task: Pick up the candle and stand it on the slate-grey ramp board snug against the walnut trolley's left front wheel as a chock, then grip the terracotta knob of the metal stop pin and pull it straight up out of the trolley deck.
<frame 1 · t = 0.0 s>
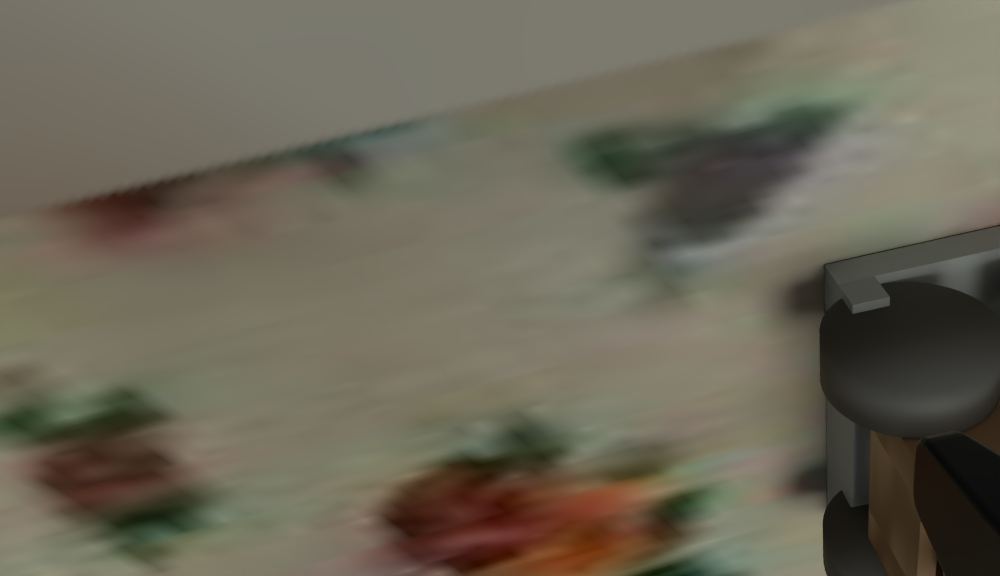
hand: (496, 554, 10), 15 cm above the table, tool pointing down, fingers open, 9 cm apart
trolley: (936, 370, 29), resting on ramp board
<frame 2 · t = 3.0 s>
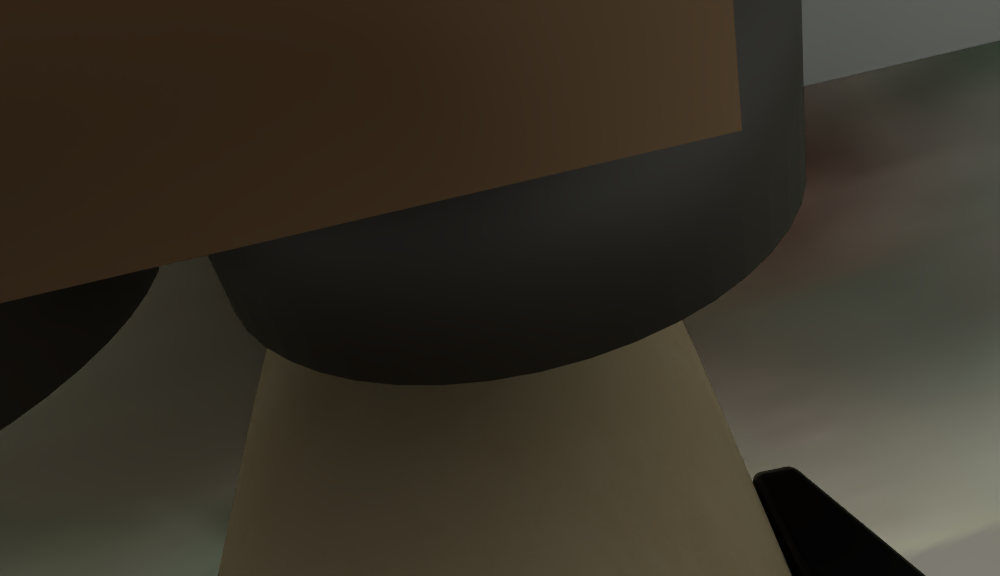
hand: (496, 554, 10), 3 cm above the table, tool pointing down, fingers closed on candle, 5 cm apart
candle: (476, 363, 12), on the table, touching gripper
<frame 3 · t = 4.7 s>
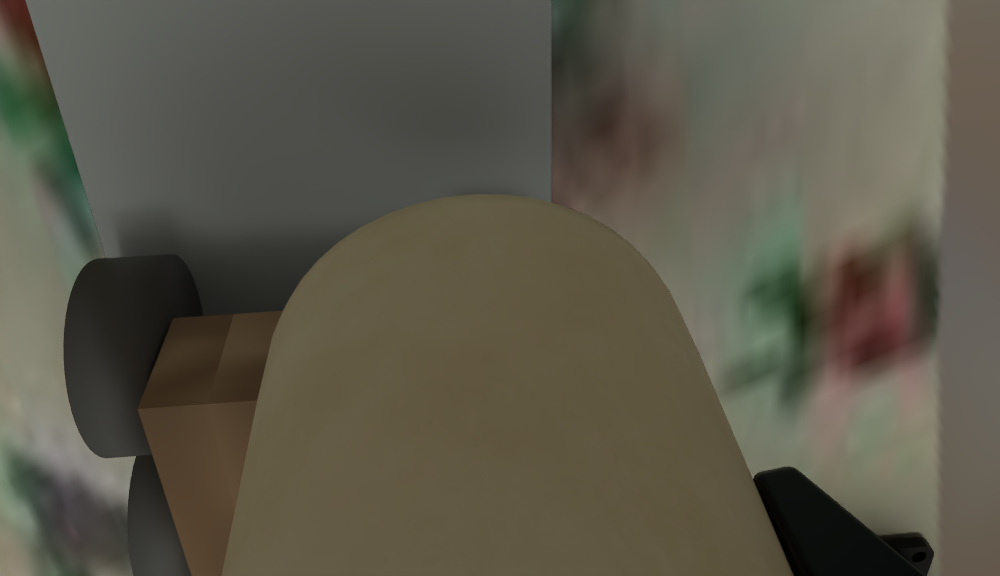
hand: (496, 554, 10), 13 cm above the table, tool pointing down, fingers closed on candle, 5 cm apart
candle: (477, 359, 12), point 10 cm above the table, touching gripper
ramp board: (324, 159, 22), on the table
trolley: (343, 346, 25), resting on ramp board
when the fingers open (5 cm above the table, at t = 6.8 s): candle stays where it is, resting on ramp board.
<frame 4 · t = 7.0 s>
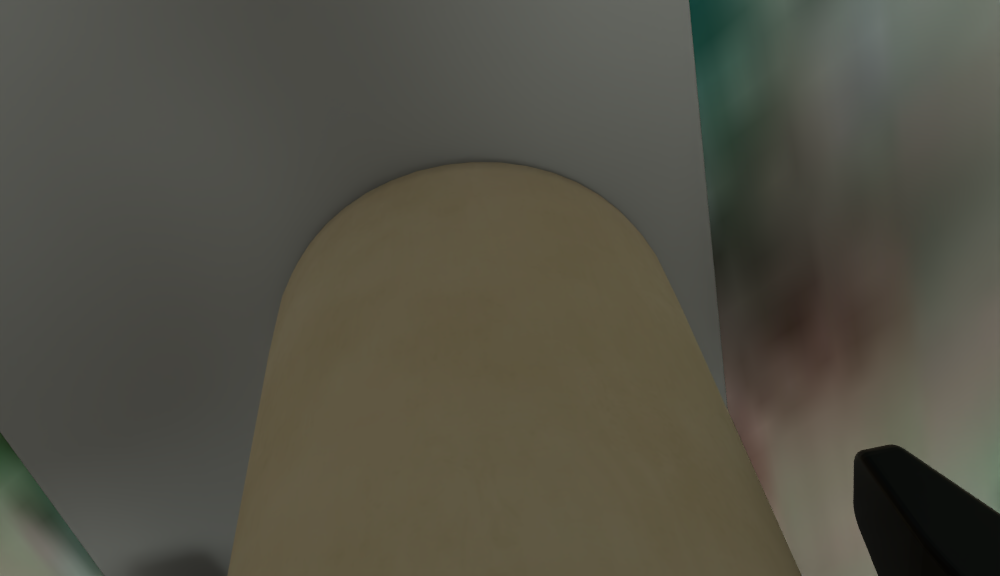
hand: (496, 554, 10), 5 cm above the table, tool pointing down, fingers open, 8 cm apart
candle: (475, 323, 13), point 1 cm above the table, touching ramp board
ramp board: (399, 432, 15), on the table
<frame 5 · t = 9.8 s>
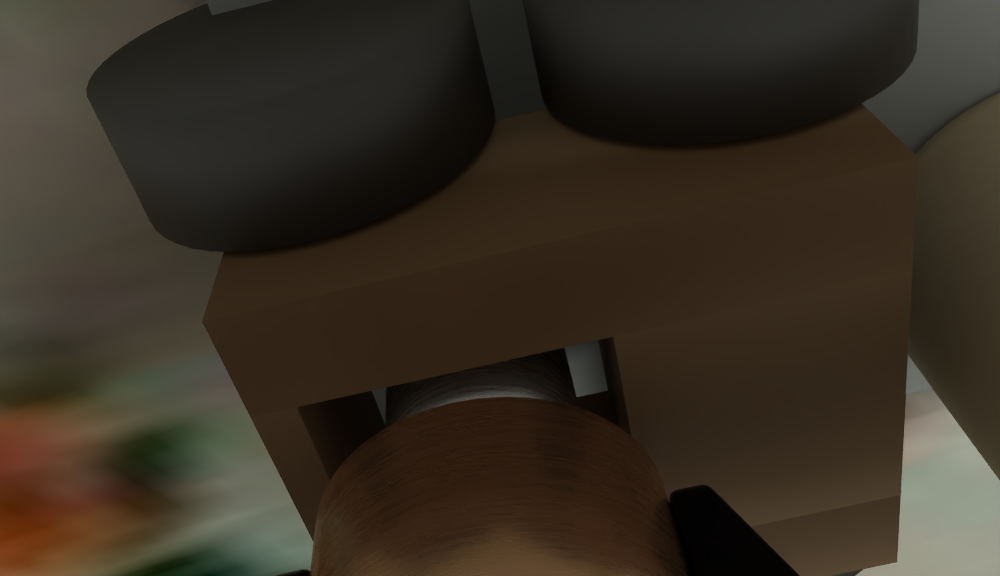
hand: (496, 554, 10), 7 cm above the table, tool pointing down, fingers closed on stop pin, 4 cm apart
ramp board: (855, 135, 15), on the table
stop pin: (490, 496, 10), point 6 cm above the table, slide at 0.5 cm, touching gripper, ramp board
trolley: (535, 196, 16), resting on ramp board
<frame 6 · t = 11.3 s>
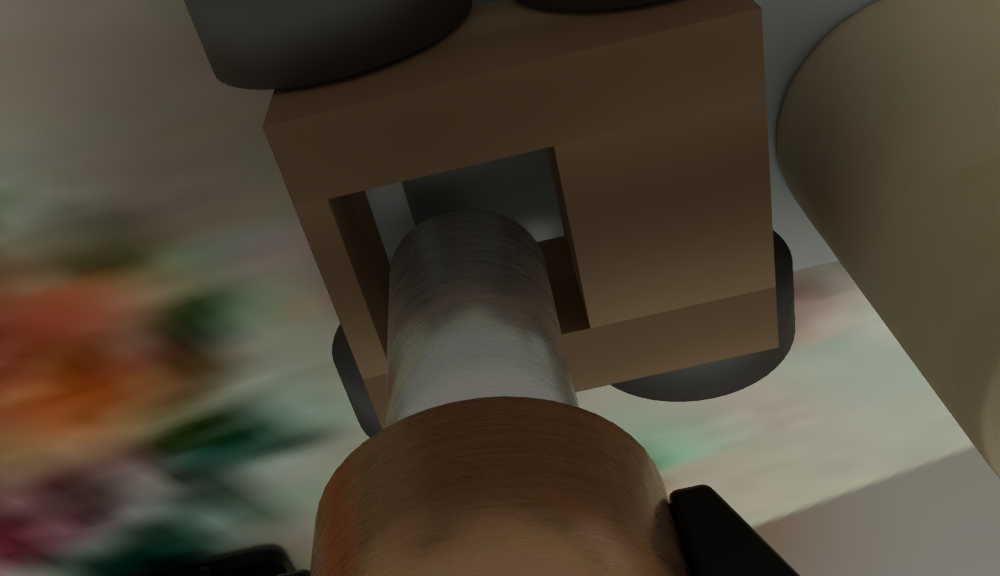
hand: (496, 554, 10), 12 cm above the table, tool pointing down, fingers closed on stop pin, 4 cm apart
candle: (896, 110, 19), point 1 cm above the table, touching ramp board
ramp board: (767, 44, 19), on the table
stop pin: (490, 495, 10), point 11 cm above the table, slide at 5.1 cm, touching gripper
trolley: (510, 93, 19), resting on ramp board
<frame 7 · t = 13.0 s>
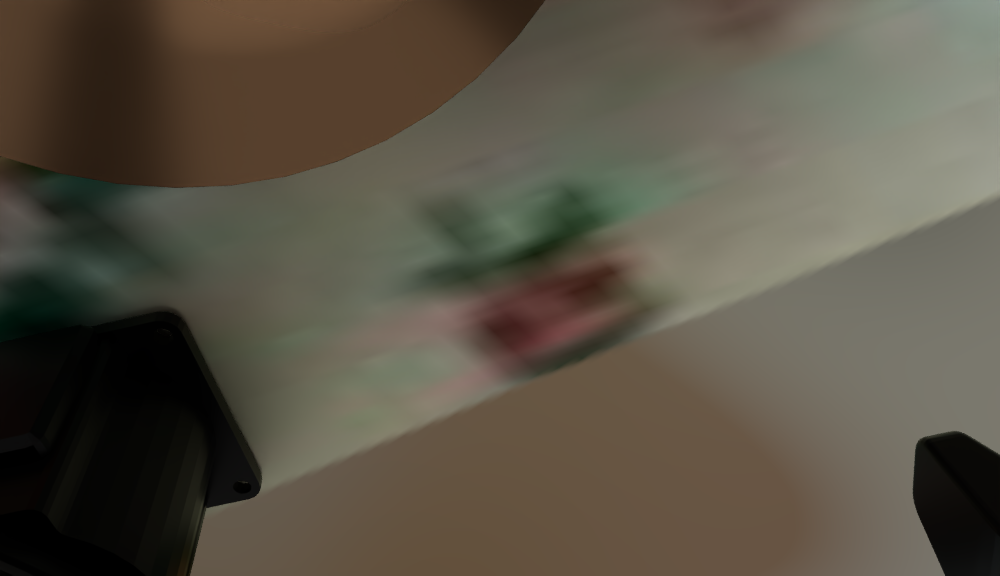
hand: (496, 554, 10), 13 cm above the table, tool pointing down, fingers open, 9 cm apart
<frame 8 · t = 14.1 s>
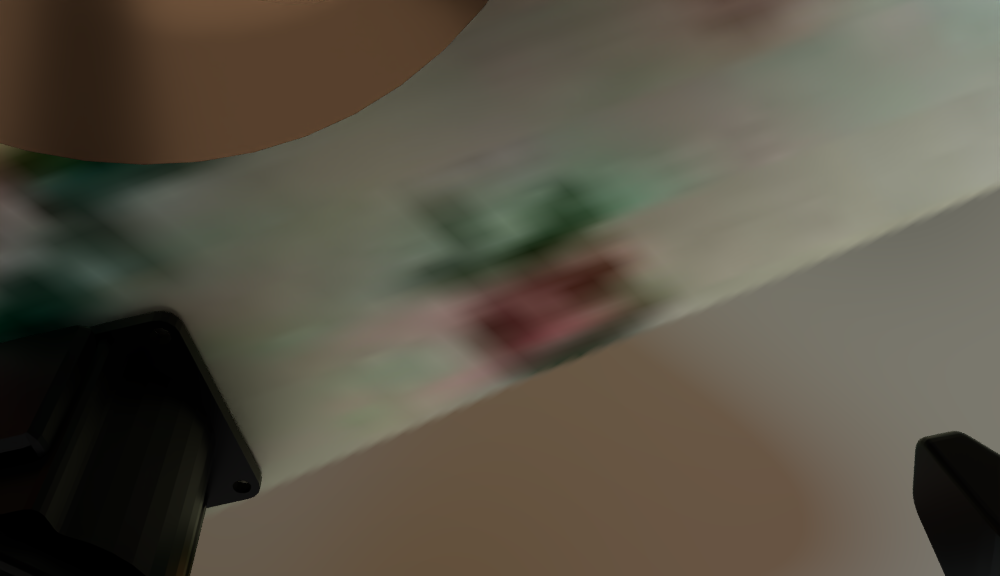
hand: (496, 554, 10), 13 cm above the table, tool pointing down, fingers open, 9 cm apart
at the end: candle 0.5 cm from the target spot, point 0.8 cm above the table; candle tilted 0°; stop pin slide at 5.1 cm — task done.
